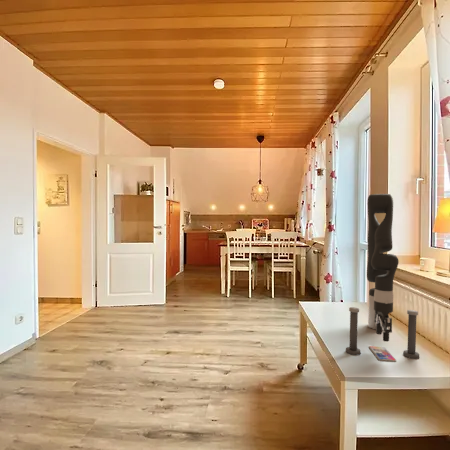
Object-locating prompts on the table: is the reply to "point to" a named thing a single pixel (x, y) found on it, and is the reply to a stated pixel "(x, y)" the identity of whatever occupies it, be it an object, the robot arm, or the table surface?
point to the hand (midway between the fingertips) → (382, 337)
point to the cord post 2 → (411, 335)
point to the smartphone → (382, 354)
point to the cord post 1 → (353, 332)
